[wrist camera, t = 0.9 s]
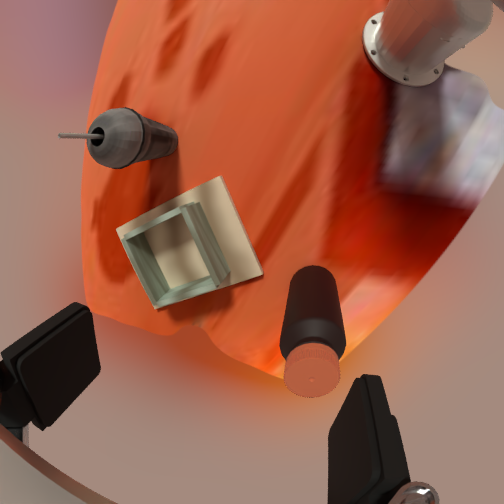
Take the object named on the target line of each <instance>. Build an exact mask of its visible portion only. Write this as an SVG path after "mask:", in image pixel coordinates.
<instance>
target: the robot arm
mask: <svg viewBox="0 0 504 504" xmlns="http://www.w3.org/2000/svg"><path fill="white" fill-rule="evenodd" d="M493 3H494V4H495V5H496V6H497V7H499V9H501V10H502V11H503V12H504V0H390V1H389V3H388V5H387V7H386V9H385V11H384V12H380V13H377V14H375V15H374V16H372V17H371V18H370V19H369V20H368V21H367V23H366V25H365V27H364V29H363V35H362V40H363V46H364V49H365V52H366V54H367V56H368V58H369V59H370V60H371V62H372V63H373V65H374V66H375V67H376V68H377V69H378V70H379V71H380V72H382V73H383V74H384V75H385V76H387V77H388V78H390V79H392V80H393V81H395V82H398V83H400V84H403V85H407V86H413V87H420V86H425V85H428V84H431V83H432V82H434V81H435V80H436V79H437V78H439V76H440V75H441V73H442V71H443V68H444V60H445V59H446V58H448V57H449V56H451V55H452V54H453V53H455V52H456V51H458V50H459V49H461V48H464V47H465V45H466V44H468V43H469V42H470V41H472V40H473V39H475V38H476V37H478V36H479V35H481V34H482V33H483V32H485V31H486V30H487V28H488V27H489V25H490V23H491V20H492V16H493ZM372 23H373V24H372ZM371 53H373V54H374V55H372V54H371ZM434 72H435V73H434ZM403 78H404V79H405V80H406V81H405V80H404V79H403ZM1 355H2V358H3V360H2V361H0V504H117V503H115V502H113V501H111V500H109V499H107V498H105V497H103V496H101V495H100V494H98V493H96V492H94V491H92V490H91V489H89V488H87V487H85V486H84V485H82V484H80V483H78V482H77V481H75V480H74V479H72V478H70V477H69V476H67V475H66V474H64V473H63V472H61V471H60V470H58V469H57V468H55V467H54V466H52V465H51V464H49V463H48V462H47V461H45V460H44V459H43V458H41V457H40V456H38V455H37V454H36V453H35V452H33V451H32V450H31V449H30V448H29V440H28V438H29V437H28V423H29V422H30V421H32V423H33V424H34V425H35V426H36V427H38V428H39V429H40V430H42V431H43V430H44V429H45V428H46V427H49V426H51V425H52V424H53V423H54V422H55V421H56V420H57V419H58V418H59V417H60V416H61V414H62V413H63V412H64V411H65V410H66V409H67V408H68V407H69V406H70V405H71V404H72V402H73V401H74V400H75V399H76V398H77V397H78V396H79V395H80V394H81V393H82V392H83V391H84V390H85V388H86V387H87V386H88V385H89V384H90V383H91V382H92V381H93V380H94V379H95V378H96V377H97V376H98V375H99V373H100V370H101V366H100V361H99V355H98V350H97V344H96V338H95V331H94V324H93V316H92V313H91V312H90V309H89V308H88V307H87V306H85V305H82V304H80V303H77V302H74V303H72V304H70V305H69V306H67V307H66V308H64V309H63V310H61V311H60V312H58V313H57V314H55V315H54V316H52V317H51V318H49V319H48V320H46V321H45V322H43V323H42V324H40V325H39V326H37V327H36V328H34V329H33V330H32V331H30V332H29V333H27V334H26V335H24V336H23V337H21V338H20V339H19V340H17V341H16V342H14V343H13V344H12V345H10V346H9V347H7V348H6V349H5V350H3V351H2V352H1ZM328 504H439V497H438V493H437V492H436V491H435V489H434V488H433V487H432V486H430V485H429V484H426V483H424V482H417V481H416V482H411V480H410V475H409V470H408V466H407V462H406V457H405V452H404V448H403V443H402V440H401V435H400V431H399V427H398V423H397V420H396V418H395V416H394V415H391V413H390V409H389V405H388V402H387V398H386V394H385V390H384V387H383V383H382V380H381V377H380V376H378V375H368V374H363V375H362V376H361V377H360V378H356V379H355V380H354V382H353V385H352V387H351V389H350V391H349V393H348V395H347V397H346V399H345V401H344V403H343V405H342V407H341V409H340V411H339V413H338V415H337V417H336V419H335V421H334V423H333V424H332V426H331V428H330V431H329V435H328Z"/></svg>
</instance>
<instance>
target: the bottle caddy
mask: <svg viewBox="0 0 504 504" xmlns="http://www.w3.org/2000/svg"><path fill="white" fill-rule="evenodd" d="M116 231H117V233H118V235H119V238H120V240H121V242H122V244H123V247H124V249H125V251H126V253H127V255H128V257H129V259H130V261H131V264H132V266H133V268H134V270H135V272H136V274H137V276H138V278H139V280H140V282H141V284H142V286H143V288H144V290H145V292H146V293H147V295H148V297H149V299H150V301H151V303H152V305H153V307H154V309H157V308H161V307H164V306H167V305H170V304H174V303H177V302H180V301H183V300H186V299H189V298H193V297H196V296H199V295H202V294H205V293H208V292H211V291H214V290H217V289H221V288H224V287H227V286H230V285H233V284H236V283H239V282H242V281H245V280H248V279H251V278H254V277H257V276H260V275H263V269H262V267H261V265H260V262H259V260H258V258H257V255H256V253H255V251H254V249H253V246H252V244H251V242H250V239H249V237H248V235H247V232H246V230H245V228H244V225H243V223H242V221H241V218H240V216H239V214H238V212H237V209H236V207H235V205H234V202H233V200H232V198H231V195H230V193H229V191H228V188H227V186H226V184H225V182H224V179H223V177H222V176H218V177H216V178H214V179H212V180H210V181H208V182H206V183H203V184H201V185H199V186H197V187H195V188H193V189H191V190H189V191H187V192H185V193H183V194H181V195H179V196H177V197H175V198H173V199H171V200H169V201H167V202H165V203H163V204H161V205H159V206H158V207H156V208H154V209H152V210H150V211H148V212H146V213H144V214H143V215H141V216H139V217H137V218H135V219H133V220H132V221H130V222H128V223H126V224H124V225H123V226H121V227H119V228H117V229H116Z"/></svg>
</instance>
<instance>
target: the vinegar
mask: <svg viewBox="0 0 504 504" xmlns="http://www.w3.org/2000/svg"><path fill="white" fill-rule="evenodd" d="M345 347H346V338H345V331H344V325H343V319H342V313H341V308H340V302H339V297H338V291H337V286H336V281H335V279H334V277H333V275H332V274H331V273H330V272H329V271H328V270H327V269H325V268H323V267H320V266H314V265H312V266H307V267H304V268H302V269H300V270H298V271H297V272H296V273H295V275H294V276H293V278H292V280H291V282H290V287H289V293H288V299H287V305H286V310H285V316H284V321H283V326H282V332H281V337H280V350H281V353H282V356H283V357H284V358H285V360H286V365H285V371H284V381H285V384H286V386H287V387H288V389H289V390H290V391H292V392H293V393H295V394H296V395H300V396H303V397H309V398H310V397H311V398H312V397H320V396H322V395H325V394H328V393H329V392H330V391H332V390H333V389H334V388H336V386H337V384H338V383H339V379H340V368H339V359H340V358H341V356H342V355H343V353H344V350H345Z"/></svg>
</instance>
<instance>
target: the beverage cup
mask: <svg viewBox="0 0 504 504" xmlns="http://www.w3.org/2000/svg"><path fill="white" fill-rule="evenodd" d="M58 138H82V139H87V147H88V150H89V152H90V155H91V156H92V157H93V159H94V160H95V161H96V162H97V163H99V164H101V165H103V166H106V167H109V168H113V169H122V168H125V167H127V166H129V165H131V164H133V163H136V162H140V161H145V160H150V159H156V158H161V157H164V156H168V155H170V154H171V153H173V152H174V150H175V149H176V147H177V144H178V137H177V134H176V132H175V131H174V130H173V129H172V128H169V127H168V126H166V125H163V124H161V123H158V122H156V121H153V120H151V119H148V118H146V117H143V116H142V115H140V114H139V113H137V112H136V111H134V110H133V109H130V108H126V107H125V108H117V109H110V110H108V111H106V112H104V113H102V114H100V115H99V116H98V117H97V118H96V119H95V120H94V121H93V123H92V124H91V126H90V128H89V131H88V134H82V133H81V134H79V133H59V135H58Z"/></svg>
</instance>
